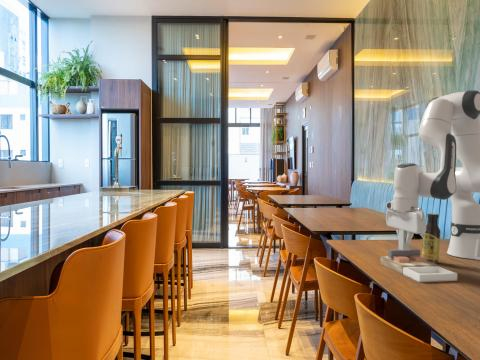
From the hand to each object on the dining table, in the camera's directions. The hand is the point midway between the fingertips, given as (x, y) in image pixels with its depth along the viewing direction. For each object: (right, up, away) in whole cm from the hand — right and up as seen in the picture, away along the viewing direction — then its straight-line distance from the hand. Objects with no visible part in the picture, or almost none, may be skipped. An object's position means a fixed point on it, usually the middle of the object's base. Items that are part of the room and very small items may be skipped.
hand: (404, 241), depth 138 cm
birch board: (0, -10, -2) cm, 10 cm away
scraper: (0, -6, 0) cm, 6 cm away
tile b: (-3, -7, -4) cm, 8 cm away
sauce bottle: (+14, -10, +7) cm, 19 cm away
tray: (+2, -10, -14) cm, 17 cm away
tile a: (+4, -7, -2) cm, 8 cm away
